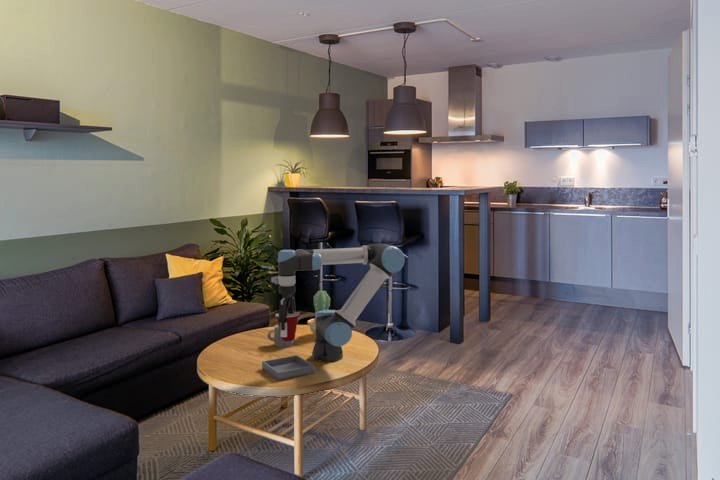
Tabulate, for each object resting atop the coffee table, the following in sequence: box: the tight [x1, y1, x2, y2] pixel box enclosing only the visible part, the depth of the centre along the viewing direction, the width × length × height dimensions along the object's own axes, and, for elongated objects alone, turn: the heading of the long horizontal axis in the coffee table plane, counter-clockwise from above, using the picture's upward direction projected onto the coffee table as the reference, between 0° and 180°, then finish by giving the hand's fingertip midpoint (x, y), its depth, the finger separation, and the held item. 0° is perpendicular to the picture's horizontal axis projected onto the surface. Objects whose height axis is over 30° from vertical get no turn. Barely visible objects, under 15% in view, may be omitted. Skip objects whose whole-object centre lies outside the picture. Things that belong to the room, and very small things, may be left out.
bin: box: [261, 354, 315, 381], centre depth 250 cm, size 18×18×4 cm
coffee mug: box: [267, 324, 295, 349], centre depth 289 cm, size 13×10×10 cm
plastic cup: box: [274, 311, 300, 341], centre depth 248 cm, size 11×11×12 cm
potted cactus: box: [306, 290, 331, 338], centre depth 306 cm, size 15×15×25 cm
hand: (287, 333), depth 249 cm, fingers closed on plastic cup, 9 cm apart
